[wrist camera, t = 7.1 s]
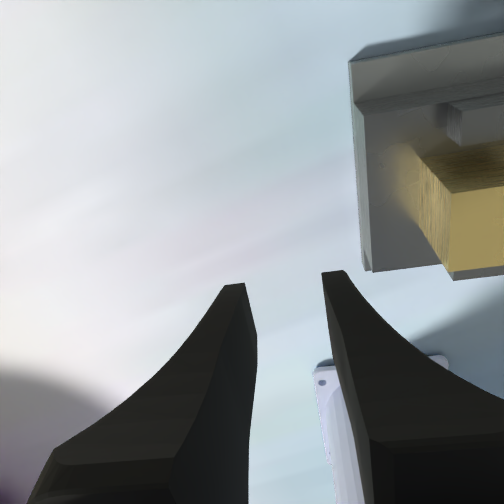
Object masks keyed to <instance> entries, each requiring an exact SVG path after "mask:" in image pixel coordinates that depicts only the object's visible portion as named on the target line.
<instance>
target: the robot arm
mask: <svg viewBox="0 0 504 504" xmlns="http://www.w3.org/2000/svg"><path fill="white" fill-rule="evenodd" d="M321 274H322V282H323V290H324V298H325V306H326V313H327V321H328V329H329V335H330V342H331V348H332V355H333V360H334V363H335V366H325V367H318V368H316V369H315V370H314V371H313V379H314V385H315V391H316V397H317V403H318V409H319V416H320V422H321V428H322V434H323V440H324V446H325V453H326V459H327V463H328V464H330V465H332V473H333V481H334V489H335V497H336V504H504V400H503V399H501V398H499V397H497V396H495V395H492V394H490V393H488V392H486V391H484V390H482V389H480V388H478V387H476V386H475V385H473V384H471V383H469V382H467V381H466V380H464V379H462V378H460V377H458V376H457V375H455V374H454V373H452V372H450V371H449V370H448V366H449V364H448V361H447V359H446V357H445V356H442V355H435V356H426V355H425V354H424V353H422V352H421V351H420V350H418V349H417V348H416V347H414V346H413V345H412V344H411V343H409V342H408V341H407V340H406V339H405V338H403V337H402V336H401V335H400V334H399V333H398V332H397V331H396V330H394V329H393V328H392V327H391V326H390V325H389V324H388V323H387V322H386V321H385V320H384V319H383V318H382V317H381V316H380V315H379V314H378V313H377V312H376V311H375V309H374V308H373V307H372V306H371V305H370V304H369V303H368V302H367V301H366V299H365V298H364V297H363V296H362V294H361V293H360V292H359V291H358V289H357V288H356V287H355V285H354V284H353V283H352V281H351V280H350V278H349V276H348V275H347V273H346V272H345V271H343V270H339V271H331V272H323V273H321ZM256 374H257V333H256V329H255V324H254V320H253V316H252V312H251V307H250V303H249V299H248V295H247V291H246V286H245V283H238V284H231V285H225V286H224V287H223V288H222V290H221V291H220V293H219V294H218V296H217V297H216V299H215V300H214V302H213V303H212V305H211V306H210V308H209V309H208V311H207V312H206V314H205V315H204V317H203V318H202V319H201V321H200V322H199V324H198V325H197V326H196V328H195V329H194V330H193V332H192V333H191V334H190V336H189V337H188V338H187V339H186V341H185V342H184V343H183V344H182V346H181V347H180V348H179V349H178V351H177V352H176V353H175V354H174V355H173V356H172V357H171V359H170V360H169V361H168V362H167V363H166V364H165V365H164V366H163V367H162V368H161V369H160V370H159V371H158V372H157V373H156V374H155V375H154V376H153V377H152V378H151V379H149V380H148V381H147V382H146V383H145V384H144V385H143V386H141V387H140V388H139V389H138V390H137V391H136V392H135V393H134V394H132V395H131V396H130V397H129V398H128V399H126V400H125V401H124V402H123V403H121V404H120V405H119V406H118V407H116V408H115V409H114V410H112V411H111V412H110V413H108V414H107V415H105V416H104V417H103V418H101V419H100V420H98V421H97V422H96V423H94V424H93V425H91V426H90V427H88V428H87V429H85V430H83V431H82V432H80V433H79V434H77V435H76V436H74V437H72V438H71V439H69V440H68V441H66V442H65V443H63V444H61V445H60V446H58V447H56V448H55V449H54V450H53V451H52V453H51V455H50V457H49V459H48V461H47V462H46V464H45V466H44V468H43V470H42V472H41V474H40V476H39V478H38V481H37V483H36V485H35V487H34V489H33V491H32V493H31V495H30V497H29V499H28V501H27V503H26V504H248V471H249V437H250V427H251V418H252V409H253V401H254V392H255V383H256ZM320 380H324V381H320Z"/></svg>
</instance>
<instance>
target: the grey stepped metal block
mask: <svg viewBox="0 0 504 504" xmlns="http://www.w3.org/2000/svg"><path fill="white" fill-rule="evenodd" d="M348 68H349V82H350V96H351V111H352V125H353V139H354V153H355V167H356V182H357V196H358V210H359V224H360V238H361V253H362V264H363V267H364V270H365V271H371V270H372V272H373V273H374V272H382V271H390V270H398V269H406V268H414V267H421V266H429V265H437V264H442V262H441V260H440V259H439V257H438V256H437V254H436V252H435V251H434V249H433V248H432V246H431V245H430V243H429V241H428V240H427V238H426V237H425V235H424V233H423V232H422V230H421V229H420V227H419V195H420V158H425V157H432V156H438V155H444V154H450V153H457V152H463V151H469V150H475V149H482V148H488V147H494V146H500V145H504V32H501V33H496V34H491V35H486V36H480V37H475V38H470V39H465V40H460V41H454V42H449V43H444V44H439V45H434V46H428V47H423V48H418V49H413V50H408V51H403V52H397V53H392V54H387V55H382V56H377V57H371V58H366V59H361V60H356V61H351V62H348ZM445 269H446V268H445ZM448 273H449V275H450V277H451V278H452V280H453V281H457V280H465V279H473V278H481V277H490V276H498V275H504V265H502V266H494V267H486V268H478V269H470V270H462V271H454V272H448Z"/></svg>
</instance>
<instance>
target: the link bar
mask: <svg viewBox="0 0 504 504" xmlns="http://www.w3.org/2000/svg"><path fill="white" fill-rule="evenodd" d="M419 227H420V229H421V230H422V232H423V233H424V235H425V237H426V238H427V240H428V241H429V243H430V245H431V246H432V248H433V249H434V251H435V252H436V254H437V256H438V257H439V259H440V260H441V262H442V264H443V265H444V267H445V268H446V270H447V272H454V271H462V270H470V269H478V268H486V267H494V266H502V265H504V145H500V146H494V147H488V148H482V149H475V150H469V151H463V152H457V153H450V154H444V155H438V156H432V157H425V158H420V195H419Z"/></svg>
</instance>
